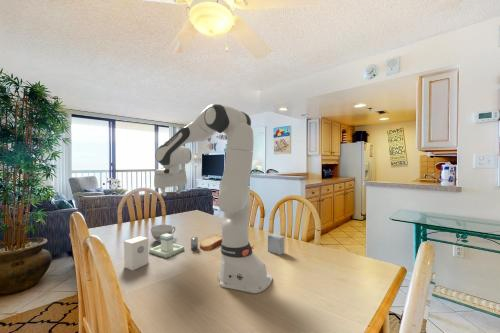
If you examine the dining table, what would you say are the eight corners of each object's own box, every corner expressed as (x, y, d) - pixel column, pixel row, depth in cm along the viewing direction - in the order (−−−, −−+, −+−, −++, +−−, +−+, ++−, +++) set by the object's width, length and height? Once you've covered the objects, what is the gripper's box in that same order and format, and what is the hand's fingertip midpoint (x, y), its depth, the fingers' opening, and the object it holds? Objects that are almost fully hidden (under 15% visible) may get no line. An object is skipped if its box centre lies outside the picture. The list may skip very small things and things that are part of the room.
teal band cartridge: (173, 249, 124) (173, 234, 124) (167, 252, 121) (167, 237, 120) (167, 247, 127) (166, 233, 127) (160, 250, 123) (160, 235, 123)
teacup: (156, 245, 132) (156, 231, 131) (147, 240, 140) (147, 227, 140) (180, 239, 143) (180, 226, 142) (170, 234, 151) (170, 222, 151)
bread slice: (201, 252, 124) (201, 245, 124) (195, 241, 141) (195, 235, 140) (233, 247, 131) (233, 240, 131) (224, 237, 148) (224, 231, 148)
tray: (184, 250, 126) (184, 246, 126) (166, 258, 115) (166, 254, 115) (167, 245, 132) (167, 242, 132) (149, 252, 122) (149, 249, 122)
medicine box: (284, 252, 122) (284, 236, 122) (279, 255, 119) (279, 238, 118) (272, 249, 127) (272, 233, 127) (267, 251, 124) (267, 235, 124)
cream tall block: (149, 263, 109) (148, 238, 109) (133, 270, 103) (132, 243, 102) (140, 260, 113) (139, 235, 113) (123, 266, 106) (123, 240, 106)
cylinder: (199, 248, 128) (199, 237, 128) (194, 250, 125) (194, 239, 125) (194, 247, 130) (194, 236, 130) (189, 249, 127) (189, 238, 126)
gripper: (181, 169, 141) (181, 191, 141) (152, 170, 123) (152, 196, 124) (189, 169, 138) (189, 192, 138) (160, 170, 120) (160, 197, 121)
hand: (171, 194), depth 131 cm, fingers open, 8 cm apart
